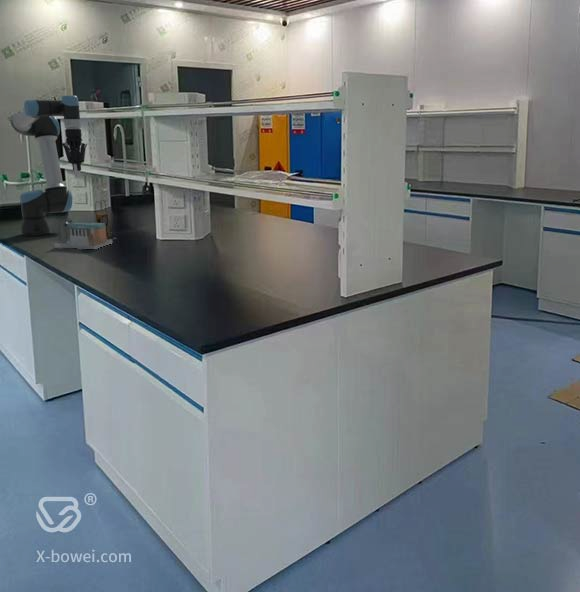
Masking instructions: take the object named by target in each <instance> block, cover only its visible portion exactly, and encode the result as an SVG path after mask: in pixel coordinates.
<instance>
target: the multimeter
mask: <svg viewBox="0 0 580 592" xmlns="http://www.w3.org/2000/svg"><path fill="white" fill-rule="evenodd" d="M102 201H104V205H105V207H104V208H105V209H107V205H106V204H107V203H106V201H105V200H104V199H102ZM97 203H99V204H100V206H103V205H102V202H101V201H98V200H97V201H96V203H95V205H94V210H95V211H94V212H95V213H96V214H95V218H96V219H95V220H96V223H105V227H106V237H107V240H112V239H113V240H117V238H116V236H115V235H113V236H112V235H111V234H110V223H109V214H108V212H107V211H105V212H104V211H103V208H100V213H97V208H96V207H97V206H96V205H97ZM108 237H109V238H108ZM110 237H112V239H111V238H110Z"/></svg>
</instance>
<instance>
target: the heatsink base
mask: <svg viewBox="0 0 580 592" xmlns="http://www.w3.org/2000/svg"><path fill="white" fill-rule="evenodd" d="M68 221H69V222H73V220H72V219H66V221H59V231H60V240H61V242H57V243H54V249H63V248H77V249H76V250H82V249H94V250H93V251H96V250H95V249H97V250H99V249H101V248H100V247H102V248H104V247H103V246H105V247H107V246H106V245H108V246H110V245H109V244H111V245H113V244H114V243H113V239H111V240H107V239H108V238H107V237H106V227H102V228H86V227H74V226H65V222H68ZM66 227H67V231H66ZM67 234H68V236H67ZM67 237H68V239H67ZM112 243H113V244H112ZM98 248H99V249H98Z"/></svg>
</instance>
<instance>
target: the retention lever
mask: <svg viewBox="0 0 580 592" xmlns="http://www.w3.org/2000/svg"><path fill="white" fill-rule="evenodd" d="M64 222H65V227H67V226H73V228H77V227H86V228H102V227H105V223H97V222H91V223H90V222H73V221H72V222H69V221H68V222H67V221H64Z"/></svg>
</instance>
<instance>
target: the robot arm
mask: <svg viewBox="0 0 580 592" xmlns="http://www.w3.org/2000/svg"><path fill="white" fill-rule="evenodd" d="M57 117H63V123H64V128H65V130H64V134H65V142H62V143H61V145H62V148H63V149H64V152H65V154H66V159H67V162H68V163H69V164H71V165H72V171H74V172H73V173H74V178H76V179H77V178H81V171H82V165H81V164H83V163H85V157H86V148H87V146H88V143H87V142H84V141H83V139H82V136H83V135H82V134H83V133H82V129H81V126H82V125H81V116H80V102H79V98H78V96H77V95H62V96H61V100H59V99H55V100H53V99H51V100H50V99H49V100H48V99H46V100H45V99H44V100H43V99H30V100H29V99H27V100H25V101H24V104H23V109H22V111H20V112H17V113H15V114H14V115H13V116H12V118H11V127H12V128H13V130H14V131H16V133H18V134H19V135H22V136H27V137H34V141H36V142H38V146H39V152H40V156H41V160H42V166H43V173H44V177H45V182H46V187H45V188H44V191H43V190H42V189H33V190H27V191H24V192H22V193H21V194H20V196H19V200H20V201H19V203H20V207H21V215H22V223H21V229H20V235H21V236H24V237H36V236H37V237H39V236H46V235H49V233H50V234H51V231H52V230H51V227H50V225H49V223H48V221H47V219H46V214H55V213H64V212H69V211H71V209H72V208H73V200H74V199H73V193H72V191H71V190H69V189H68V187H67V185H65V184H64V181H63V175H62V171H61V165H60V159H59V154H58V149H57V142H56V141H57V139H58V136H59V135H60V133H61V131H60V129H61V128H60V127H61V126H60V124H59V121H58V118H57ZM45 234H46V235H45Z"/></svg>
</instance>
